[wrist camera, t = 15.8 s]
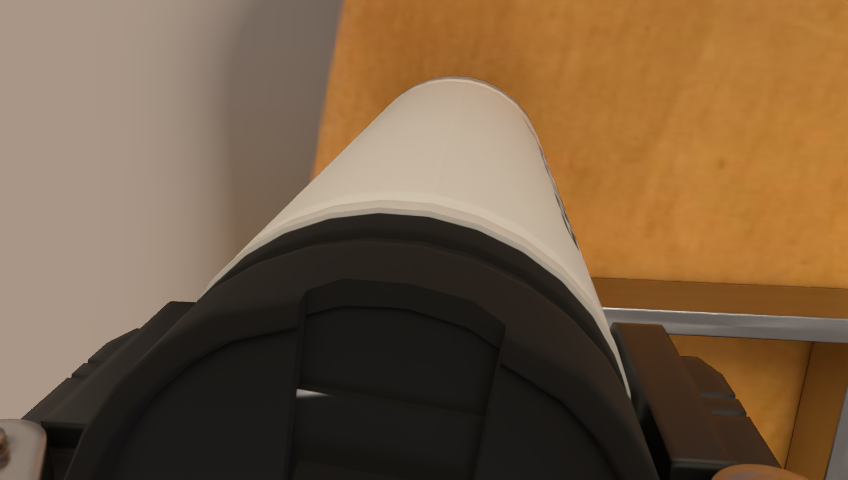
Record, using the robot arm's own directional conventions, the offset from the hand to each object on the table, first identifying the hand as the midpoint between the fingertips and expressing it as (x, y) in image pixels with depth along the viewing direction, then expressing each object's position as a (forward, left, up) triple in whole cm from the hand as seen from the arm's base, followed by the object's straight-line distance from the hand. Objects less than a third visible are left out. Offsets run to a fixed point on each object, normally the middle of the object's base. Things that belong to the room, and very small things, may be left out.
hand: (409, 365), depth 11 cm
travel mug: (0, 0, -15) cm, 15 cm away
